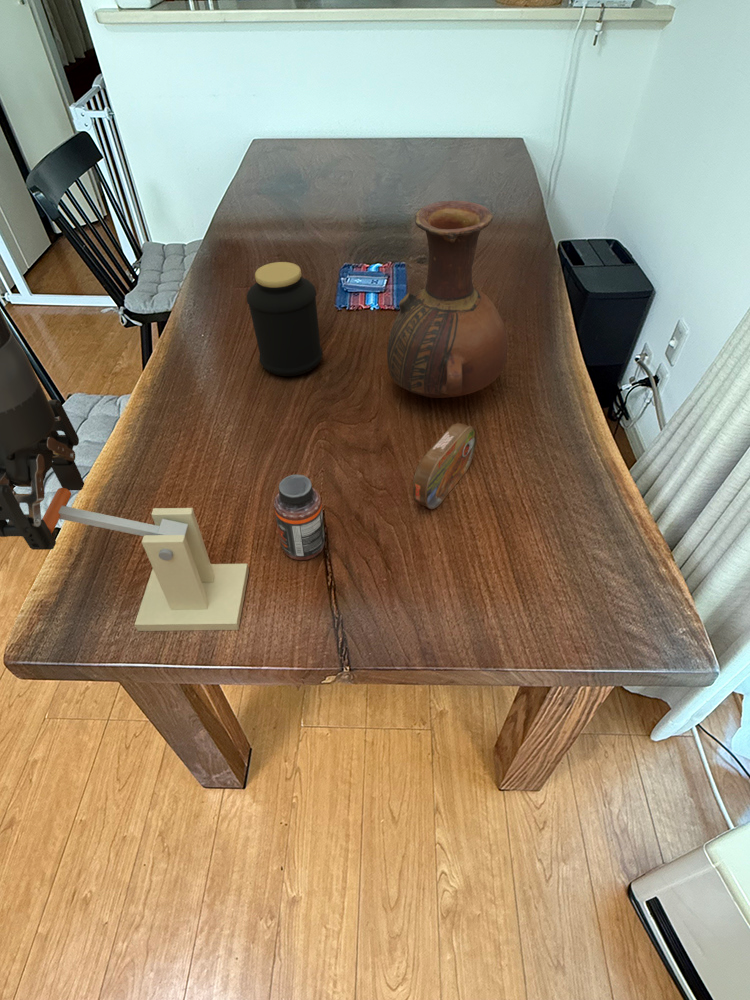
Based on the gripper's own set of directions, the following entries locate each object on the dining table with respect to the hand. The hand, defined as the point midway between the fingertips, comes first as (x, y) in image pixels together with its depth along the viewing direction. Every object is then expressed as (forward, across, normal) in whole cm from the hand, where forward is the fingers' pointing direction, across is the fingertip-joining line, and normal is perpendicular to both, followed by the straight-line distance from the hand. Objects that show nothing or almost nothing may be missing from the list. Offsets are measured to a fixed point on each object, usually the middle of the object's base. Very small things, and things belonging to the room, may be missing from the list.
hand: (60, 516), depth 63 cm
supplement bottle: (+15, -9, +24) cm, 30 cm away
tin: (+15, -20, +44) cm, 50 cm away
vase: (+15, -44, +46) cm, 65 cm away
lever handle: (+2, 0, +5) cm, 6 cm away
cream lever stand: (+15, 0, +11) cm, 19 cm away
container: (+15, -53, +18) cm, 58 cm away
